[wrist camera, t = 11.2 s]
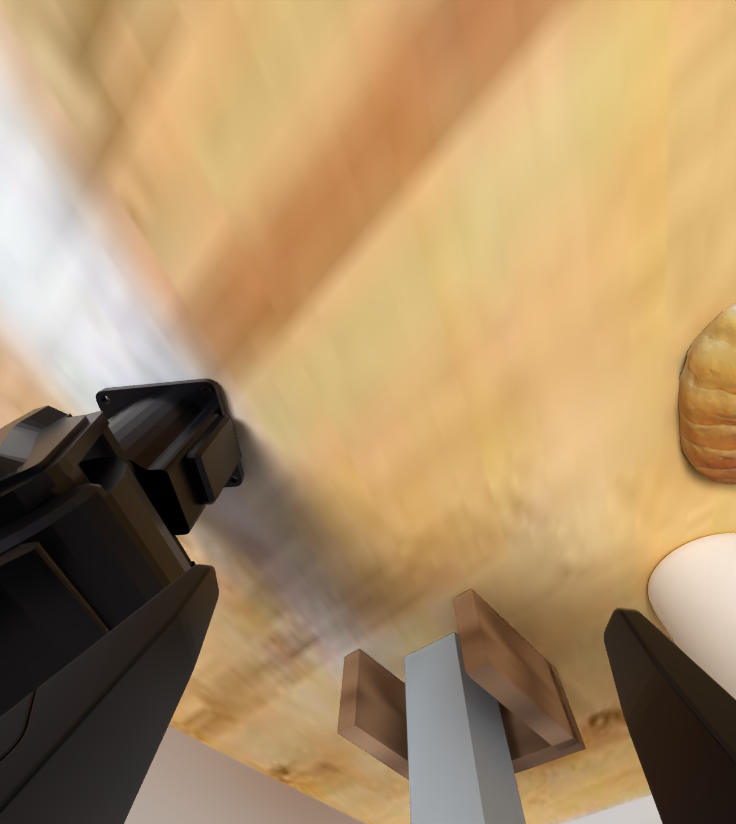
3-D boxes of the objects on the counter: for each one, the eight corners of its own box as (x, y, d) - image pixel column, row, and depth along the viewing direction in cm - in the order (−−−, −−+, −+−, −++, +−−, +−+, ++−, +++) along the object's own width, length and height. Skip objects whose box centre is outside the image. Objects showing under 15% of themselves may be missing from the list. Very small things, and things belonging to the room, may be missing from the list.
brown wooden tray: (344, 657, 31) (337, 733, 26) (471, 588, 27) (488, 663, 23) (432, 722, 34) (439, 800, 30) (556, 669, 30) (585, 748, 26)
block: (404, 656, 31) (415, 932, 19) (454, 632, 29) (499, 913, 17) (440, 686, 32) (471, 960, 20) (489, 664, 30) (553, 944, 19)
